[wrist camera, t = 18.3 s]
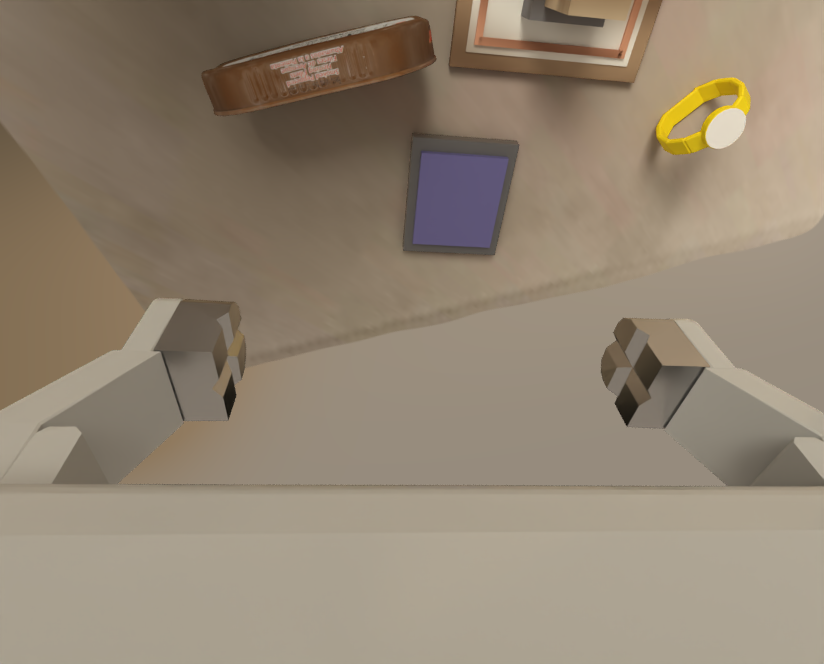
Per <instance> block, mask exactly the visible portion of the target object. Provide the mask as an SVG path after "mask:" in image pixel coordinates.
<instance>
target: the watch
mask: <svg viewBox="0 0 824 664" xmlns="http://www.w3.org/2000/svg"><path fill="white" fill-rule="evenodd" d="M722 95H737V96H738V98H737V100H736V101H735V102H734V104H733V105H732V106H723V107H720V108H718V109H716V110H715V111H713V112H712V113H711V114H710V115H709V116H708V117H707V118H706V120H705V121H704V123H703V125H702V128H701V131H700V132H697V133H695V134H693V135H690V136H688V137H686V138H679V139H671V140H670V139H668V138H667V137H668V135H669V133H670V132H671V130H672V128H673V126H674V125H676V124H677V123H678V122H680V121H681V120H682V119H683V118H685V117H686V116H687V115H688V114H690V113H691V112H692V111H694V110H695V109H696V108H697V107H699V106H700V105H701V104H702V103H704V102H706V101H709V100H711V99H714V98H717V97H719V96H722ZM749 109H750V95H749V93H748V91H747V89H746V87H745V84H744V83H743V82H741V81H740V80H738V79H736V78H723V79H717V80H713V81H710V82H708V83H706V84H703V85H701V86H698V87H697V88H694V90H693V91H692V92H691V93H690V94H688V95H687V96H686V97H685V98H683V99H682V100H681V101H680V102H679V103H677V104H676V105H675V106H674V107H672V108H671V109H670V110H669V111H667V112H666V113H665V114H663V116H662V118H661V119H660V121H659V123H658V125H657V127H656V136H657V139H658V141H659V142H660V144H661V146H662V147H663V149H664V150H665V151H667V152H669V153H671V154H673V155H674V154H675V155H679V154H691V153H694V152H697V151H699V150H702V149H704V148H707V147H710V148H713V149H721V148H724V147H727V146H729V145H731V144H732V143H734V142H735V141H736V140H737V139H738V138H739V136H740V135H741V134H742V132H743V130H744V128H745V124H746V117H745V116H746V114H747V113H748V111H749Z"/></svg>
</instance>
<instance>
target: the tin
mask: <svg viewBox="0 0 824 664" xmlns="http://www.w3.org/2000/svg"><path fill="white" fill-rule="evenodd" d="M435 61H436V56H435V55H434V50H433V44H432V37H431V30H430V25H429V22H428V20H426V19H423V18H421V17H418V16H409V17H404V18H399V19H394V20H390V21H385V22H381V23H377V24H372V25H368V26H364V27H360V28H355V29H351V30H347V31H342V32H338V33H333V34H329V35H325V36H321V37H316V38H312V39H308V40H304V41H300V42H297V43H293V44H289V45H285V46H281V47H278V48H274V49H271V50H267V51H263V52H259V53H256V54H252V55H248V56H245V57H241V58H238V59H235V60H231V61H228V62H225V63H223V64H221V65H219V66H218V67H216V68H215V69H210V70H206V71H204V72H203V73H202V75H201V76H202V80H203V83H204V85H205V88H206V90H207V93H208V95H209V97H210V100H211V102H212V105H213V107H214V114H215V115H217V116H229V115H237V114H243V113H248V112H253V111H257V110H262V109H266V108H270V107H275V106H279V105H283V104H287V103H292V102H296V101H301V100H304V99H309V98H313V97H317V96H322V95H326V94H330V93H334V92H338V91H343V90H347V89H351V88H356V87H360V86H365V85H369V84H373V83H377V82H382V81H385V80H389V79H392V78H396V77H399V76H403V75H406V74H408V73H411V72H414V71H417V70H420V69H422V68H425V67H427V66H429V65H431V64H433V63H434V62H435Z"/></svg>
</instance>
